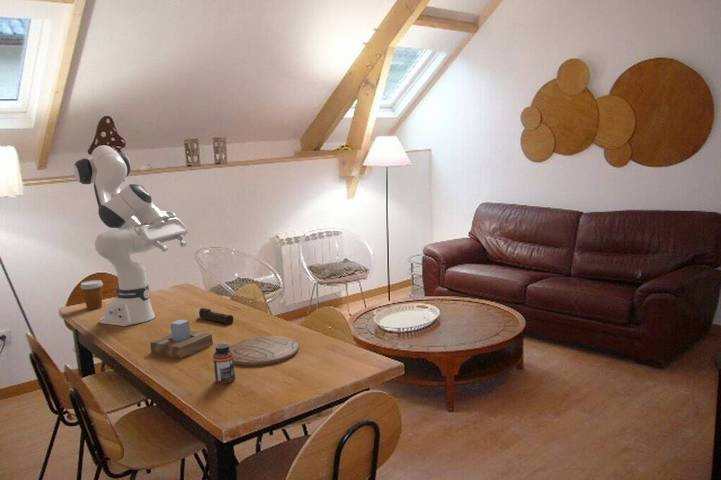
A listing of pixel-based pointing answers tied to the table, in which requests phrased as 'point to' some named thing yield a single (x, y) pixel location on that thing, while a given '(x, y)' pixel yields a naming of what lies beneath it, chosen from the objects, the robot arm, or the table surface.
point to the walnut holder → (181, 345)
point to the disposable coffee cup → (92, 293)
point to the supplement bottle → (223, 364)
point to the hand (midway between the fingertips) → (175, 247)
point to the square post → (180, 330)
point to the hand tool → (215, 316)
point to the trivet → (263, 350)
